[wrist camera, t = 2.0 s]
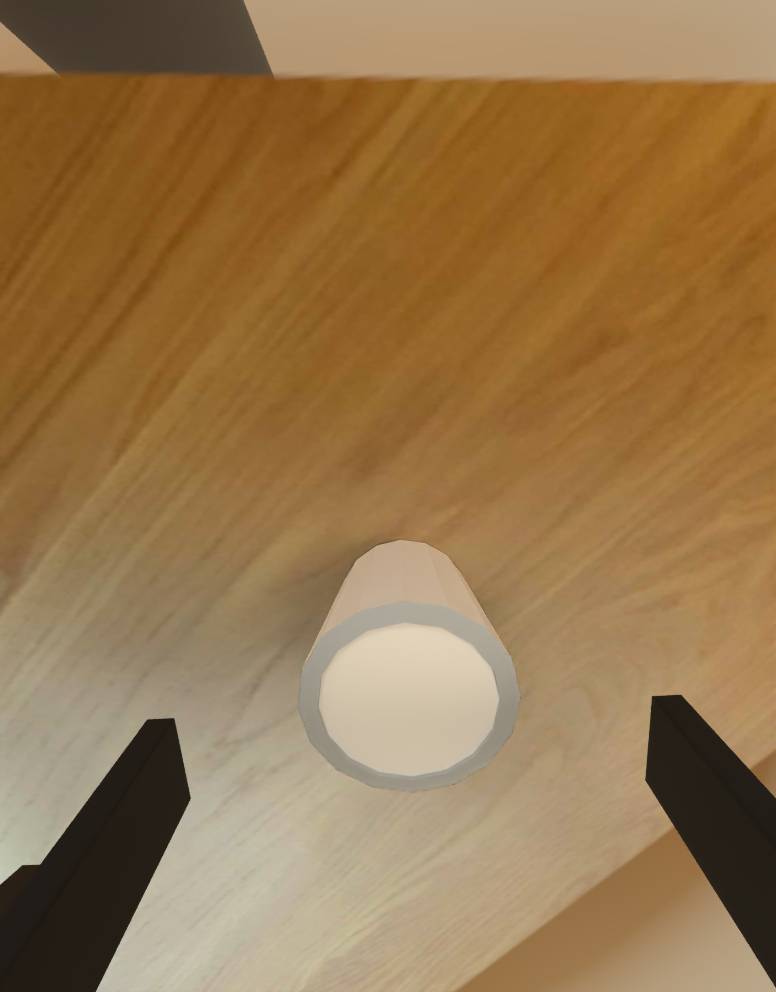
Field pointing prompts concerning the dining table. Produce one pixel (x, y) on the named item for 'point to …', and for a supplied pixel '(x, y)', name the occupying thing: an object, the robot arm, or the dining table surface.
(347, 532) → the dining table surface
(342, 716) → the shot glass
